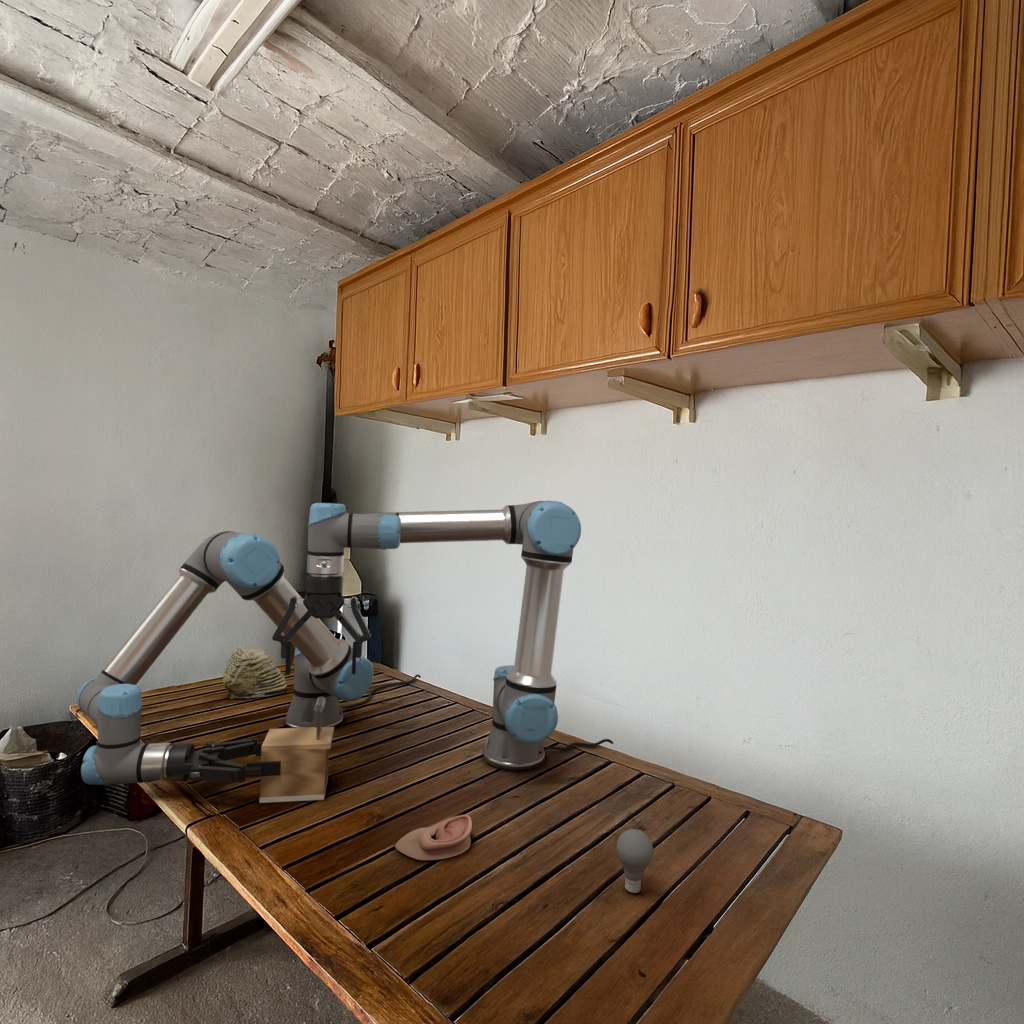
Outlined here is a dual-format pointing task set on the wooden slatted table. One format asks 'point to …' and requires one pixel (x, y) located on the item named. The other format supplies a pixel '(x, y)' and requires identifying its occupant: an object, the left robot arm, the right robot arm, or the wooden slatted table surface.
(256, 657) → the fossil
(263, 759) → the chest
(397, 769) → the wooden slatted table surface
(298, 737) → the lid
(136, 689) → the left robot arm
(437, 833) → the anatomical model
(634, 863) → the light bulb
